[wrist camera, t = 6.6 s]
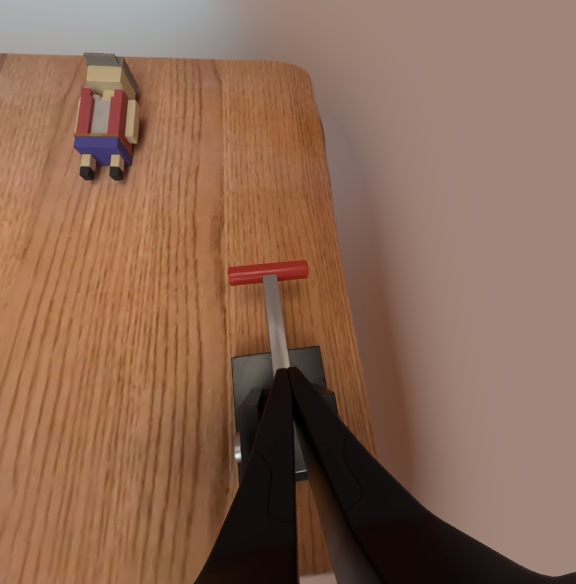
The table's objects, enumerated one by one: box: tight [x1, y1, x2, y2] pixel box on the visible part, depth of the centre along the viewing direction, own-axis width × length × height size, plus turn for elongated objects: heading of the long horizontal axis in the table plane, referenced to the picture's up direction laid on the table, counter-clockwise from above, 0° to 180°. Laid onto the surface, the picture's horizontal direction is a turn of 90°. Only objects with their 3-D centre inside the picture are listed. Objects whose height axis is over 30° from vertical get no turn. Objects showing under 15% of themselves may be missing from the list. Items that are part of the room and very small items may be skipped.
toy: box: [74, 53, 140, 180], centre depth 26 cm, size 6×4×15 cm
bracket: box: [231, 346, 343, 486], centre depth 16 cm, size 10×8×10 cm
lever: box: [228, 260, 308, 473], centre depth 15 cm, size 13×6×2 cm, turn 8°
